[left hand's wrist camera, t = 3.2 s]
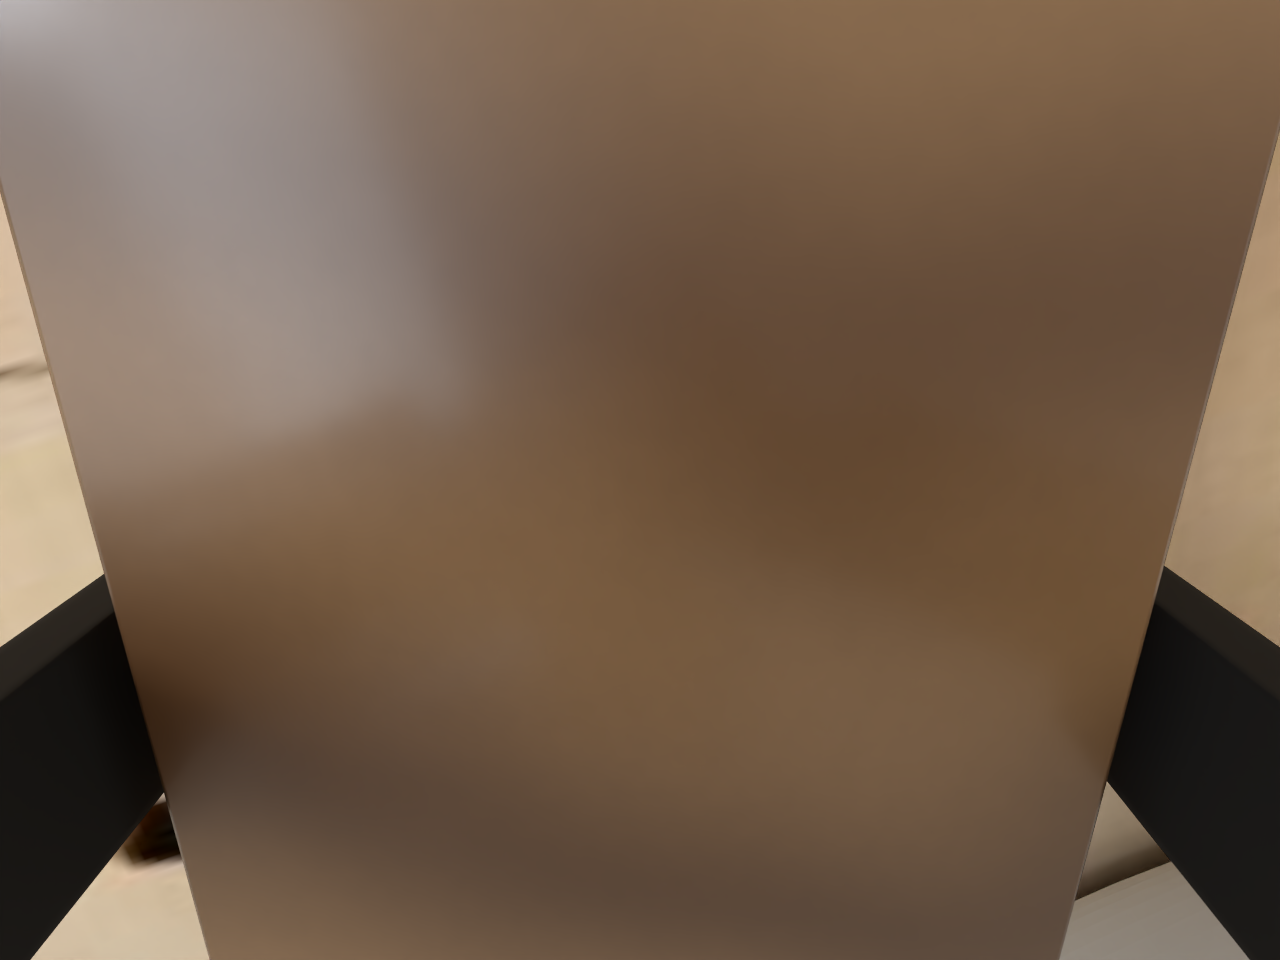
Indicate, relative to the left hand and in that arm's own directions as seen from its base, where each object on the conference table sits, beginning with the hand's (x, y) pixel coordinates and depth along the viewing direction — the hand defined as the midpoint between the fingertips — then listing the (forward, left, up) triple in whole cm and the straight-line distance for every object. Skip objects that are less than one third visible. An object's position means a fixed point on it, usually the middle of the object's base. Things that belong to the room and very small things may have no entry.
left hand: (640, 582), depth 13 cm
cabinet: (+5, +3, -8) cm, 10 cm away
